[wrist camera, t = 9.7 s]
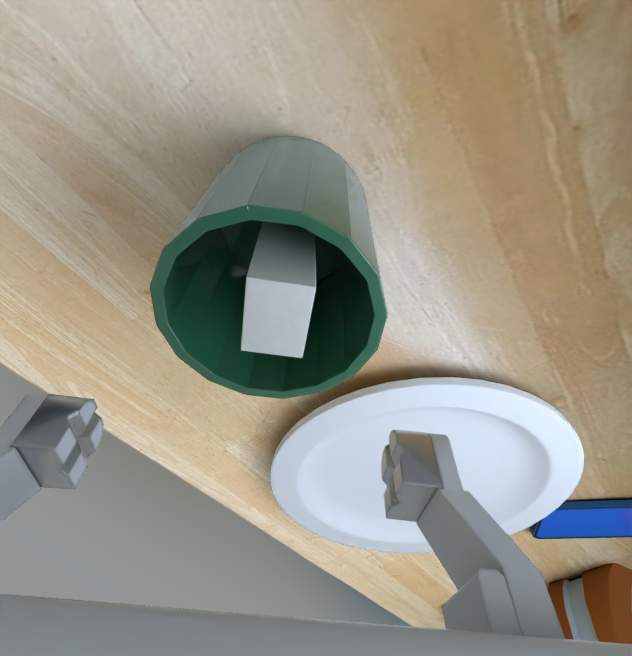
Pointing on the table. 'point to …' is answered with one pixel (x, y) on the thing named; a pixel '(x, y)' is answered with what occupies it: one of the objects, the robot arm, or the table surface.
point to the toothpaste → (279, 291)
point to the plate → (436, 418)
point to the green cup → (234, 261)
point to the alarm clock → (595, 605)
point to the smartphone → (586, 520)
